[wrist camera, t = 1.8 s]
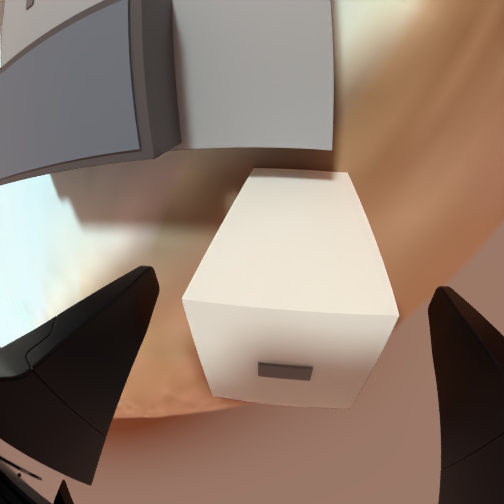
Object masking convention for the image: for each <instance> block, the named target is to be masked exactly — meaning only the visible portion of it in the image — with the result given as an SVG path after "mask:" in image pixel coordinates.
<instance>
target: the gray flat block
mask: <svg viewBox="0 0 504 504" xmlns="http://www.w3.org/2000/svg"><path fill="white" fill-rule="evenodd" d="M181 143H182V140H181V131H180V122H179V112H178V101H177V89H176V76H175V62H174V44H173V20H172V0H103V1H101V2H99V3H97V4H95V5H93V6H91V7H89V8H87V9H85V10H83V11H82V12H80V13H78V14H76V15H74V16H72V17H71V18H69V19H67V20H66V21H64V22H62V23H61V24H59V25H57V26H56V27H54V28H53V29H51V30H50V31H48V32H47V33H45V34H44V35H42V36H41V37H39V38H38V39H36V40H35V41H34V42H32V43H31V44H29V45H28V46H27V47H25V48H24V49H23V50H21V51H20V52H19V53H18V54H16V55H15V56H14V57H13V58H11V59H10V60H9V61H8V62H7V63H6V64H4V65H3V66H2V67H1V68H0V185H4V184H7V183H11V182H15V181H19V180H23V179H27V178H32V177H36V176H41V175H45V174H50V173H55V172H61V171H66V170H71V169H77V168H83V167H90V166H96V165H103V164H110V163H118V162H127V161H136V160H146V159H155V158H156V157H158V156H160V155H161V154H163V153H165V152H167V151H168V150H170V149H172V148H174V147H175V146H177V145H179V144H181Z"/></svg>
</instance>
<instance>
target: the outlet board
mask: <svg viewBox="0 0 504 504" xmlns="http://www.w3.org/2000/svg"><path fill="white" fill-rule="evenodd" d="M101 1H103V0H5V6H4V14H3V23H2V37H1V67H2V66H3V65H4V64H6V63H7V62H8V61H9V60H10V59H11V58H13V57H14V56H15V55H16V54H18V53H19V52H20V51H21V50H23V49H24V48H25V47H27V46H28V45H29V44H31V43H32V42H34V41H35V40H36V39H38V38H39V37H41V36H42V35H44V34H45V33H47V32H48V31H50V30H51V29H53V28H54V27H56V26H57V25H59V24H61V23H62V22H64V21H66V20H67V19H69V18H71V17H72V16H74V15H76V14H78V13H80V12H82V11H83V10H85V9H87V8H89V7H91V6H93V5H95V4H97V3H99V2H101ZM172 20H173V44H174V62H175V76H176V89H177V101H178V112H179V122H180V131H181V140H182V143H181V144H179V145H177V146H175V147H174V148H172V149H170V150H168V151H172V150H185V149H203V148H232V147H274V148H303V149H320V150H332V138H333V103H334V68H333V35H332V17H331V3H330V0H172Z"/></svg>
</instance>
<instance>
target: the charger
mask: <svg viewBox="0 0 504 504" xmlns="http://www.w3.org/2000/svg"><path fill="white" fill-rule="evenodd" d="M182 302H183V305H184V309H185V313H186V316H187V319H188V323H189V326H190V330H191V333H192V336H193V339H194V343H195V346H196V349H197V352H198V355H199V358H200V361H201V364H202V367H203V370H204V373H205V376H206V379H207V382H208V385H209V388H210V390H211V393H212V396H216V397H221V398H227V399H233V400H240V401H247V402H254V403H262V404H272V405H281V406H293V407H309V408H351V406H352V404H353V403H354V401H355V400H356V398H357V396H358V395H359V393H360V391H361V390H362V388H363V386H364V385H365V383H366V381H367V379H368V377H369V376H370V374H371V372H372V370H373V368H374V366H375V365H376V363H377V361H378V359H379V357H380V355H381V353H382V351H383V349H384V347H385V345H386V343H387V340H388V339H389V337H390V334H391V332H392V330H393V328H394V326H395V324H396V321H397V319H398V317H399V313H398V309H397V305H396V302H395V298H394V295H393V292H392V288H391V285H390V282H389V279H388V275H387V272H386V269H385V266H384V263H383V260H382V257H381V255H380V252H379V249H378V246H377V243H376V241H375V238H374V235H373V232H372V230H371V227H370V225H369V222H368V220H367V217H366V215H365V212H364V210H363V207H362V205H361V202H360V200H359V198H358V195H357V193H356V191H355V188H354V186H353V184H352V182H351V179H350V177H349V175H348V173H343V172H331V171H316V170H299V169H273V168H253V170H252V172H251V173H250V175H249V177H248V179H247V180H246V182H245V184H244V185H243V187H242V189H241V191H240V192H239V194H238V196H237V198H236V199H235V201H234V203H233V205H232V206H231V208H230V210H229V212H228V214H227V215H226V217H225V219H224V221H223V223H222V224H221V226H220V228H219V230H218V232H217V233H216V235H215V237H214V239H213V241H212V243H211V244H210V246H209V248H208V250H207V252H206V254H205V255H204V257H203V259H202V261H201V263H200V265H199V267H198V269H197V270H196V272H195V274H194V276H193V278H192V280H191V282H190V284H189V286H188V288H187V290H186V292H185V293H184V295H183V297H182Z"/></svg>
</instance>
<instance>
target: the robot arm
mask: <svg viewBox="0 0 504 504" xmlns="http://www.w3.org/2000/svg"><path fill="white" fill-rule="evenodd" d="M158 295H159V284H158V280H157V277H156V274H155V271H154V269H153V267H151V266H139V267H137V268H136V269H134V270H132V271H130V272H129V273H127V274H125V275H124V276H122V277H120V278H118V279H117V280H115V281H113V282H111V283H110V284H108V285H106V286H105V287H103V288H101V289H100V290H98V291H96V292H95V293H93V294H91V295H90V296H88V297H86V298H85V299H83V300H81V301H80V302H78V303H76V304H75V305H73V306H71V307H70V308H68V309H67V310H65V311H63V312H62V313H60V314H59V315H57V317H56V316H55V317H54V318H52V319H51V320H49V321H47V322H46V323H44V324H43V325H41V326H39V327H38V328H36V329H34V330H33V331H31V332H29V333H27V334H26V335H24V336H22V337H20V338H18V339H17V340H15V341H13V342H11V343H9V344H8V345H6V346H4V347H2V348H1V349H0V504H74V503H73V501H72V498H71V496H70V493H69V490H68V488H67V485H66V482H65V480H63V477H64V475H66V476H68V477H70V478H73V479H75V480H77V481H80V482H82V483H85V484H87V485H90V486H91V484H92V481H93V478H94V475H95V471H96V468H97V465H98V461H99V458H100V455H101V452H102V449H103V446H104V442H105V440H106V436H107V433H108V430H109V427H110V424H111V422H112V419H113V416H114V413H115V410H116V408H117V405H118V402H119V399H120V397H121V394H122V391H123V389H124V386H125V383H126V381H127V378H128V376H129V373H130V371H131V368H132V366H133V363H134V361H135V358H136V356H137V353H138V351H139V349H140V346H141V344H142V341H143V339H144V337H145V334H146V332H147V329H148V326H149V323H150V319H151V316H152V313H153V310H154V307H155V304H156V301H157V298H158ZM428 315H429V316H428V317H429V325H430V335H431V344H432V345H431V346H432V355H433V362H434V369H435V375H436V382H437V391H438V401H439V412H440V427H441V469H442V470H441V476H440V493H439V503H438V504H504V336H503V335H502V334H501V333H500V332H499V331H498V330H497V329H496V328H495V327H494V326H493V325H492V324H490V323H489V322H488V321H487V320H486V319H485V318H484V317H483V316H482V315H481V314H480V313H479V312H478V311H477V310H476V309H474V308H473V307H472V306H471V305H470V304H469V303H468V302H467V301H465V300H464V299H463V298H462V297H461V296H460V295H459V294H457V293H456V292H455V291H454V290H453V289H452V288H450V287H448V286H439V287H438V288H437V289H436V291H435V293H434V295H433V298H432V300H431V302H430V304H429V307H428Z"/></svg>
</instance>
